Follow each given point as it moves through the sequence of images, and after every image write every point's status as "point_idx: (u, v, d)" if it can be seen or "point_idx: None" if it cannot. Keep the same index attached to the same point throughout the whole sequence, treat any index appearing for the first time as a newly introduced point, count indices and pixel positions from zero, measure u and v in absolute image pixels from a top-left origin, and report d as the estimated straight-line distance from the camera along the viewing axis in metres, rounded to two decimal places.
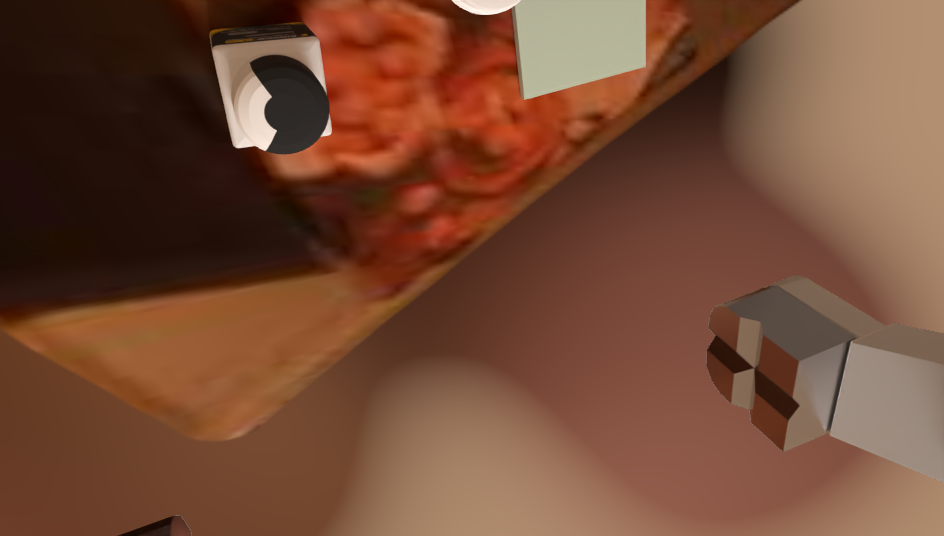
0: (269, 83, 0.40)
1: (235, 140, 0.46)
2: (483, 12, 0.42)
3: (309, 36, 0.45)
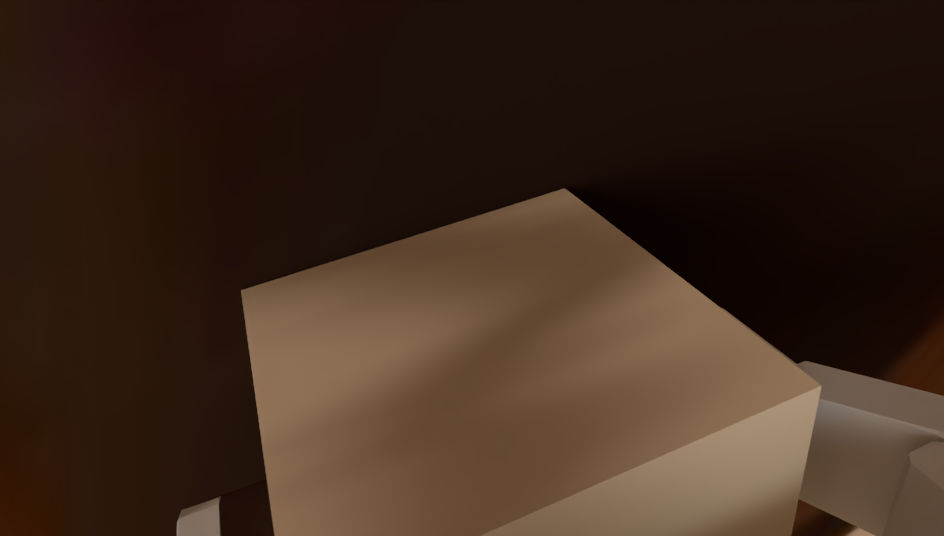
0: None
1: None
2: None
3: None
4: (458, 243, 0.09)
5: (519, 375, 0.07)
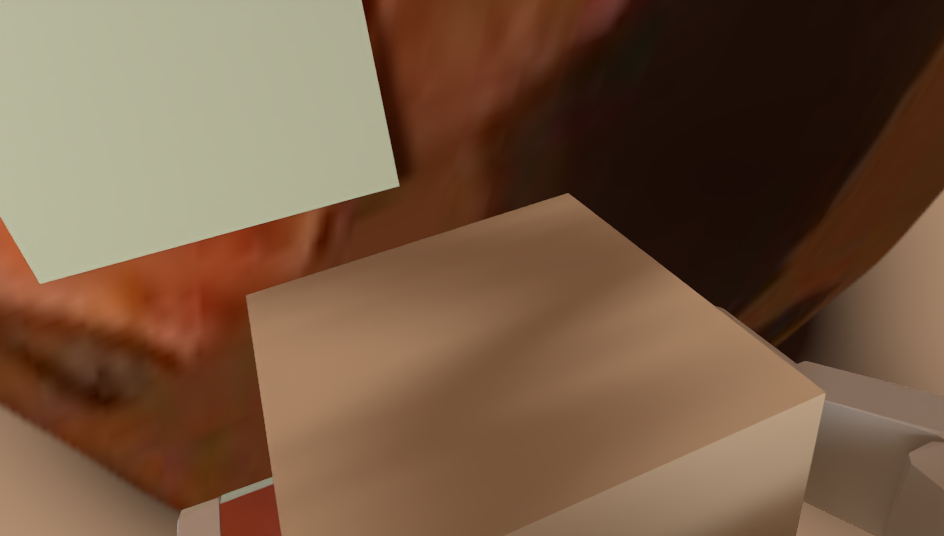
0: None
1: None
2: None
3: None
4: (462, 248, 0.09)
5: (525, 381, 0.07)
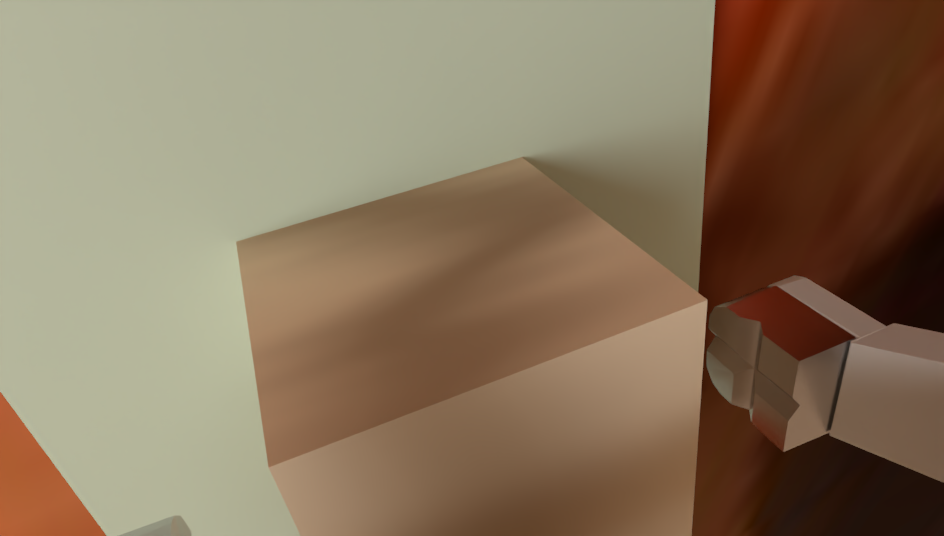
0: None
1: None
2: None
3: None
4: (425, 201, 0.10)
5: (466, 299, 0.08)
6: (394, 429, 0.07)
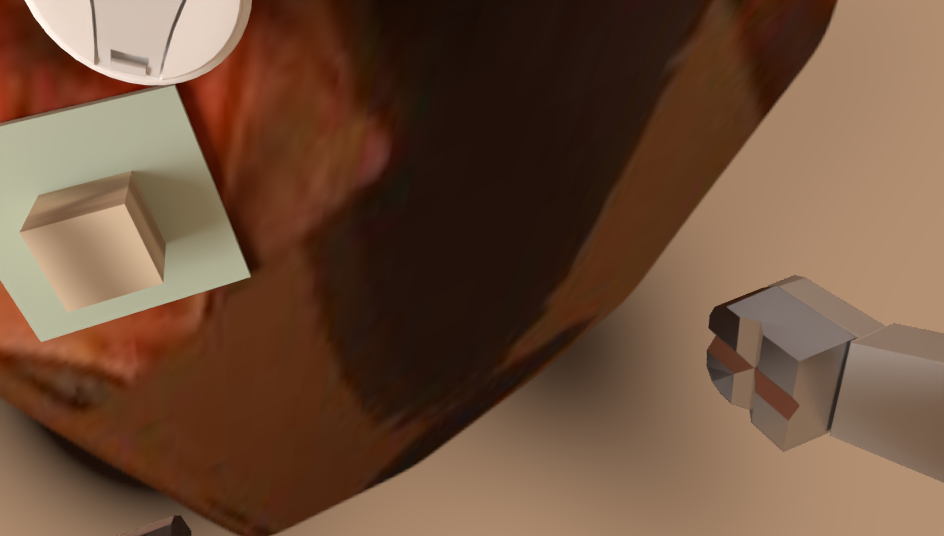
0: None
1: None
2: None
3: None
4: (93, 184, 0.36)
5: (79, 205, 0.34)
6: (47, 227, 0.32)
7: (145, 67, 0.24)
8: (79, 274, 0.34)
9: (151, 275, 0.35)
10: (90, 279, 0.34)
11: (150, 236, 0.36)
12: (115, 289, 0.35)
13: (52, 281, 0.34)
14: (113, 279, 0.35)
